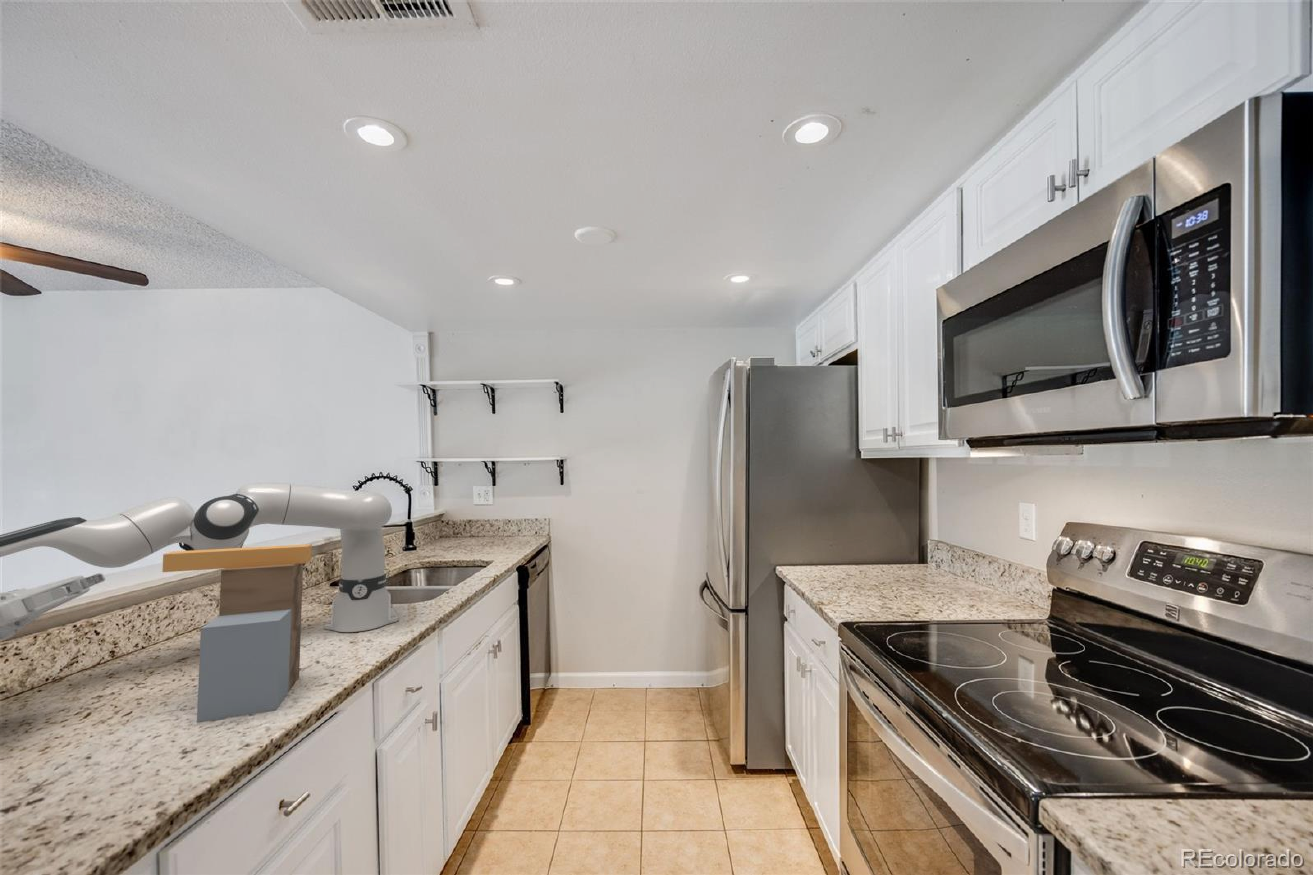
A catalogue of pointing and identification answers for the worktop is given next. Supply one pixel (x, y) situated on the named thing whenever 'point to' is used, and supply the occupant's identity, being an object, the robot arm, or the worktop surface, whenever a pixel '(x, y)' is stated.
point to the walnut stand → (266, 598)
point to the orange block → (236, 557)
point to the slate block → (243, 664)
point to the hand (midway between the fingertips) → (85, 583)
